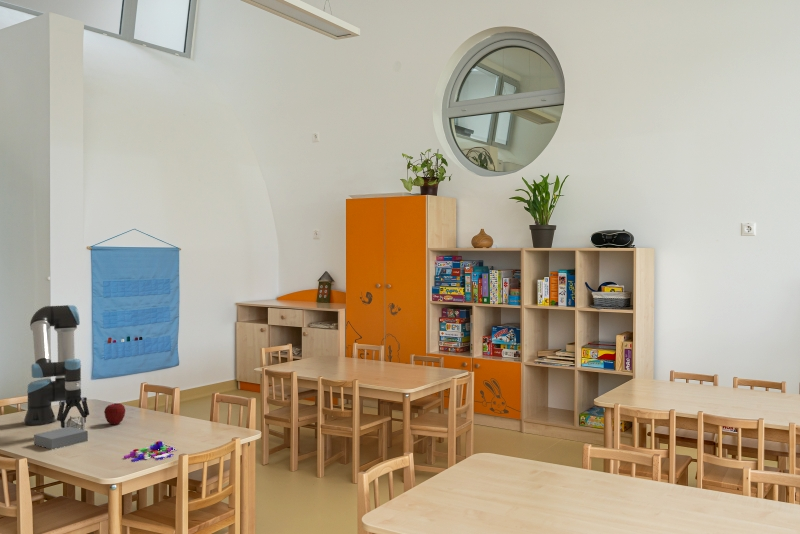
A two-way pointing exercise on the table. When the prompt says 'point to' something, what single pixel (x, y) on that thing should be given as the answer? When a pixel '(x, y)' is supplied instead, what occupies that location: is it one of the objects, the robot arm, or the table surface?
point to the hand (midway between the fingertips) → (73, 431)
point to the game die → (74, 423)
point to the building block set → (154, 447)
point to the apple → (114, 413)
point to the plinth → (61, 437)
